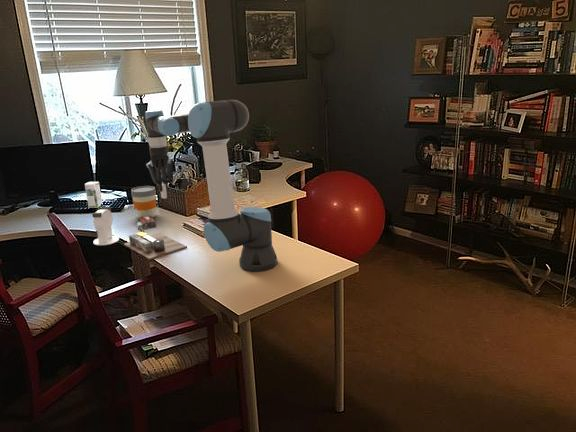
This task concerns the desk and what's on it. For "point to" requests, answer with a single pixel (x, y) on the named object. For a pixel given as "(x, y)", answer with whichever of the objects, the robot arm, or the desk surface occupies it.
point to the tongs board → (147, 251)
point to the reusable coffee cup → (144, 200)
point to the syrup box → (93, 194)
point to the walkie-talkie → (145, 222)
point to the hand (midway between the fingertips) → (164, 197)
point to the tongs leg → (153, 242)
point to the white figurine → (104, 227)
